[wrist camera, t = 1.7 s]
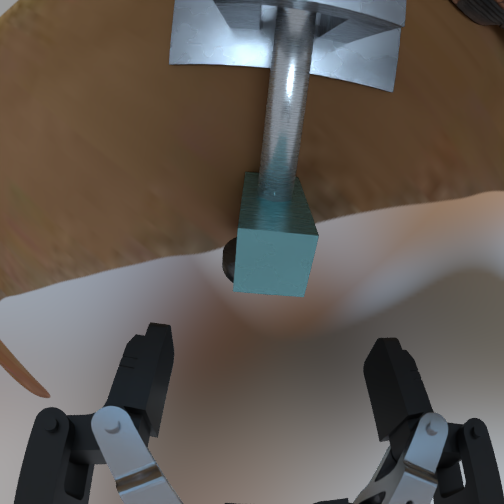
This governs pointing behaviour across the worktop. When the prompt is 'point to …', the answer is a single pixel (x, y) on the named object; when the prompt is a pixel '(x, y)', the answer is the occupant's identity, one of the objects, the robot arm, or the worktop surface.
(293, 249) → the rod with teal cap
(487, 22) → the brown rounded lump
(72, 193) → the worktop surface
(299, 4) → the eye post
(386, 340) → the robot arm
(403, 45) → the worktop surface
